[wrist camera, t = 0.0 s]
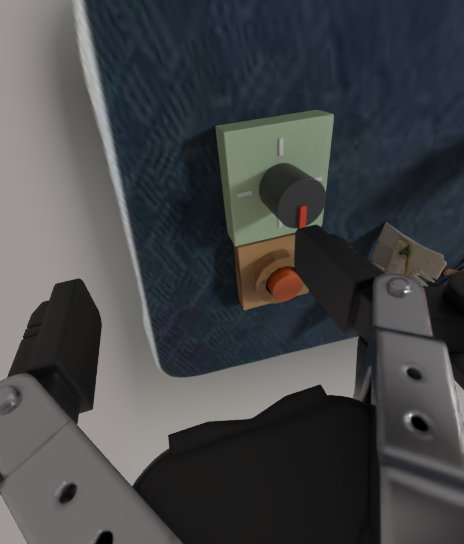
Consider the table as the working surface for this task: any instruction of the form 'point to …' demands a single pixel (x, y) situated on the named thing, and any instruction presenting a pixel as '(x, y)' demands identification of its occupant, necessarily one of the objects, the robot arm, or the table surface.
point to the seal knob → (292, 195)
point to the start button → (284, 283)
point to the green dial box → (268, 167)
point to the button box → (262, 268)
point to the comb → (406, 256)
